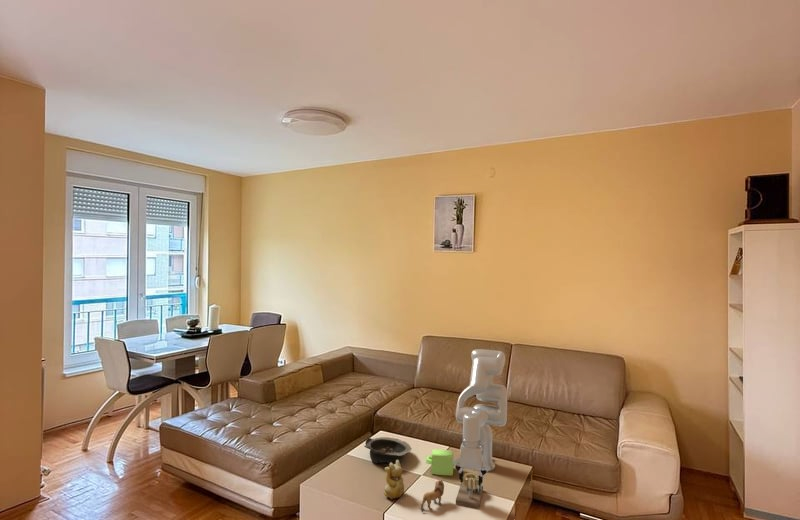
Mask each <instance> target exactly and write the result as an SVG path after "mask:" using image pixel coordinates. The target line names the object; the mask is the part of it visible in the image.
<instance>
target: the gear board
mask: <svg viewBox="0 0 800 520" xmlns="http://www.w3.org/2000/svg"><path fill="white" fill-rule="evenodd" d="M482 492H484V486H483V485H482V489H481V491H479V493H477V492H475V493H473V489H472V488H471V489H469V491H467V490H466V489H465V486H463V484H462V483H461V482H460V486H459V489H458V493H457V495H456V498H455V505H457V506H461V507H466V508H467V507H468V508H472V509H473V508H474V509H477V508H479V509H480V506H479V505H481V502H482V496H483V493H482Z"/></svg>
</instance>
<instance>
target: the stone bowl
mask: <svg viewBox="0 0 800 520" xmlns="http://www.w3.org/2000/svg"><path fill="white" fill-rule="evenodd" d="M363 447H364V448H365V449H368V450H369V457H370V460H371V462H372V463H374V464H381V463H388V465H389V464H390V463H393V464H396V460H399V462H402V460H403V458H404V457H405V455H406V454H408V453H410V452H411V451H412V450H413V449H412V446H411V445H410V444H409V443H408V442H406V441H405V440H401V439H399V438H394V437H389V436H384V437H383V436H382V437H376V438H371V437H369V438H367V439H366V440H365V445H364V446H363Z"/></svg>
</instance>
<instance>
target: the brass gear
mask: <svg viewBox="0 0 800 520" xmlns="http://www.w3.org/2000/svg"><path fill="white" fill-rule="evenodd" d="M462 484H463V486H465V488H469V489H471V488H472V489H475V488H478V486H479V475H478V474H477V473H474V472H466V473H464V472H463V481H462Z"/></svg>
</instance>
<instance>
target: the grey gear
mask: <svg viewBox="0 0 800 520" xmlns="http://www.w3.org/2000/svg"><path fill="white" fill-rule="evenodd" d="M482 484H483V482H482V483H481V486H478V488H475V489H473V493H475V492H477V493H479V491H481V489H482V486H483V485H482ZM465 489H466V490H467V491H469V488H465Z"/></svg>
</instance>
